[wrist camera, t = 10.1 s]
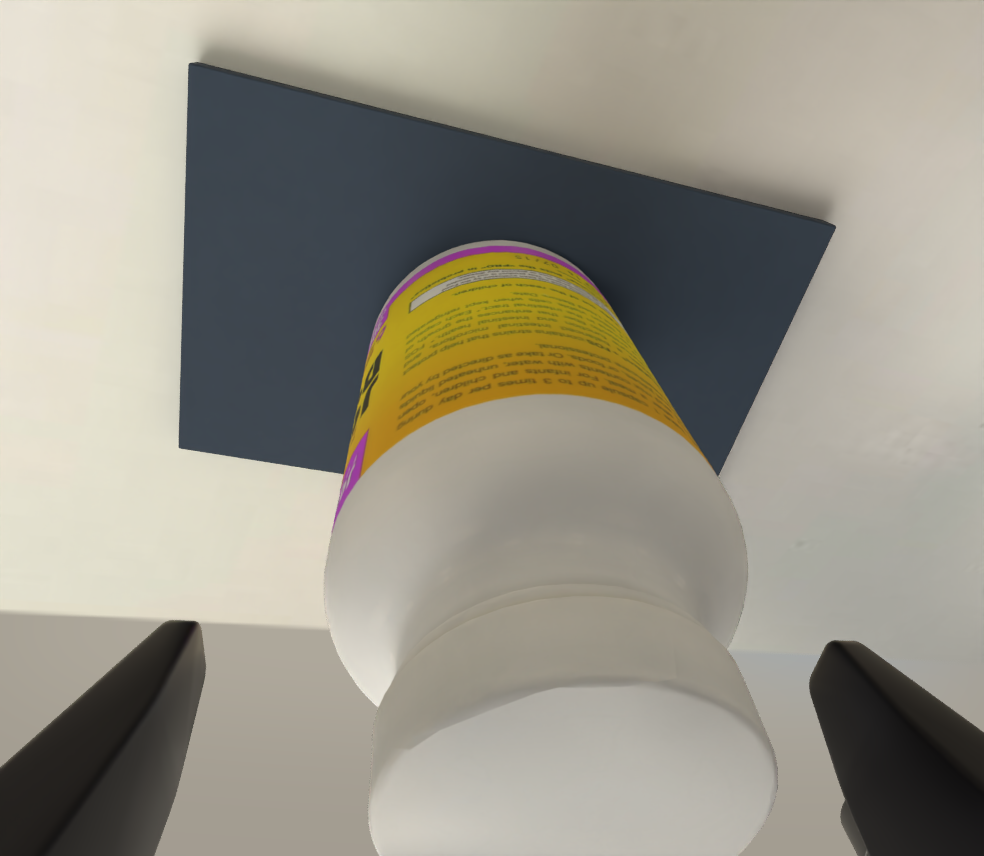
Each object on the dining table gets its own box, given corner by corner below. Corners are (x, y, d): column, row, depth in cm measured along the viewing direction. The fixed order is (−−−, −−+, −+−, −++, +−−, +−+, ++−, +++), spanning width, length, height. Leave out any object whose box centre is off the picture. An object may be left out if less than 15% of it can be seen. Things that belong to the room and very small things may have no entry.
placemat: (825, 221, 18) (837, 226, 18) (687, 518, 23) (693, 530, 22) (196, 61, 15) (187, 62, 15) (184, 437, 20) (177, 448, 20)
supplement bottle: (349, 246, 17) (189, 640, 6) (614, 220, 17) (941, 556, 6) (391, 470, 20) (338, 991, 9) (612, 447, 21) (821, 932, 9)
